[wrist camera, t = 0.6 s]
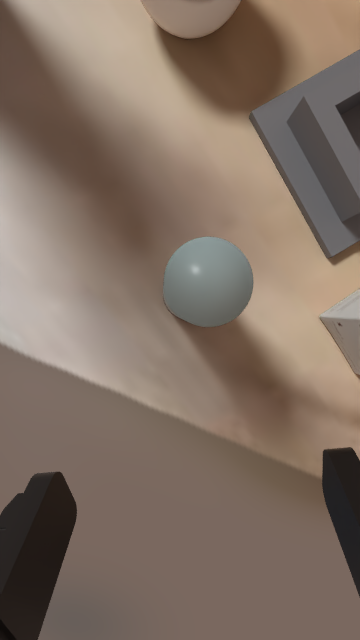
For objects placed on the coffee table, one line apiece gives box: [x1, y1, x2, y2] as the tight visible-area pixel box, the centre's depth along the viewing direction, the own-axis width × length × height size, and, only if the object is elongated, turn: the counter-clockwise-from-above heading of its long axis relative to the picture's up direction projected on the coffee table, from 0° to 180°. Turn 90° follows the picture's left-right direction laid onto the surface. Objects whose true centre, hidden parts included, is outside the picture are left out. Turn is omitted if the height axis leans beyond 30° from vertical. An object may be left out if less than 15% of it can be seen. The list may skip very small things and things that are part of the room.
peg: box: [163, 237, 253, 327], centre depth 26 cm, size 5×5×15 cm
